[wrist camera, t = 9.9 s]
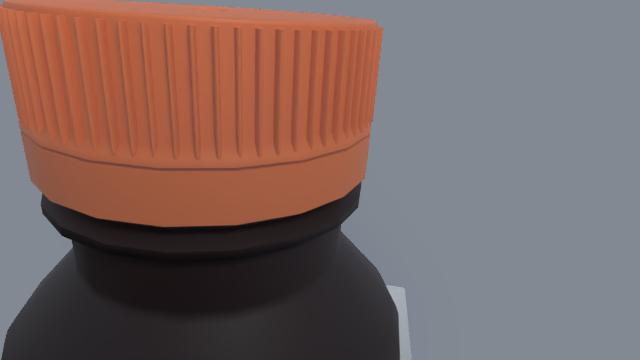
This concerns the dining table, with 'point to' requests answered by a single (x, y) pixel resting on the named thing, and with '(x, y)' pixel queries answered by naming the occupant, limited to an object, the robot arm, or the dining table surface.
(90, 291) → the vinegar
